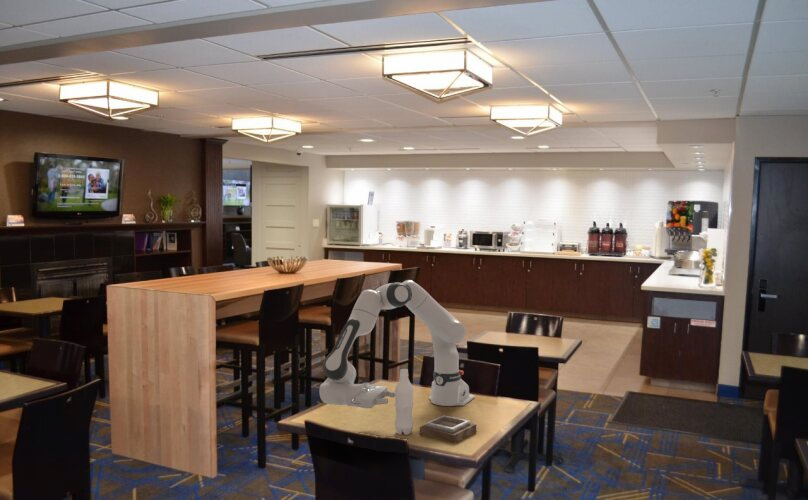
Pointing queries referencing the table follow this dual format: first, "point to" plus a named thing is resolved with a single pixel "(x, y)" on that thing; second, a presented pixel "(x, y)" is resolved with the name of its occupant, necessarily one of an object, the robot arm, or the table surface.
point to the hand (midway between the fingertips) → (391, 398)
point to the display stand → (448, 428)
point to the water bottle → (404, 404)
